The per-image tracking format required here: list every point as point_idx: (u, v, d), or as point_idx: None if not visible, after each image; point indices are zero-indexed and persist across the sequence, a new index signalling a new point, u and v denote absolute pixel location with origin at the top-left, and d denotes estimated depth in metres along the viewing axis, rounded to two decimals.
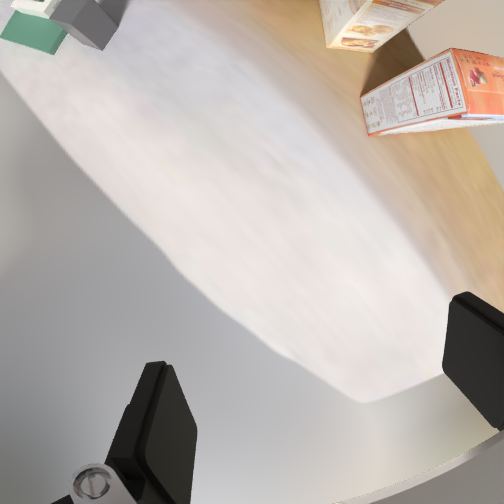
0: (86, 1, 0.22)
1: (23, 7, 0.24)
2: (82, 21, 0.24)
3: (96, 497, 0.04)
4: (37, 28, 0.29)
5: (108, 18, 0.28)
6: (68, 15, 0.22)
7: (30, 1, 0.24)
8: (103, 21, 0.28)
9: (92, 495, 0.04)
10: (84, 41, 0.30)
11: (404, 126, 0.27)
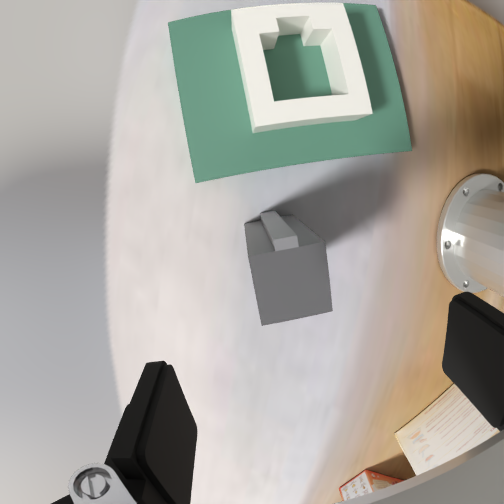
0: (318, 312, 0.17)
1: (242, 53, 0.18)
2: None
3: (96, 498, 0.04)
4: (222, 106, 0.22)
5: None
6: (275, 303, 0.17)
7: (261, 60, 0.18)
8: None
9: (92, 495, 0.04)
10: None
11: None
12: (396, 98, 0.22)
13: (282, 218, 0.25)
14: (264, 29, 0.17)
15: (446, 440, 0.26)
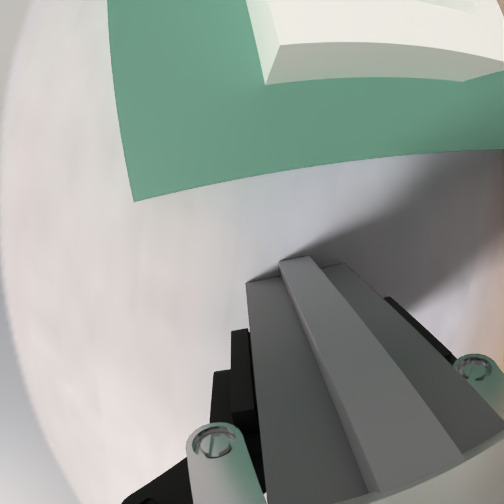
0: None
1: None
2: None
3: (212, 457, 0.05)
4: (195, 30, 0.08)
5: None
6: None
7: None
8: None
9: (210, 454, 0.05)
10: None
11: None
12: None
13: (327, 275, 0.11)
14: None
15: None
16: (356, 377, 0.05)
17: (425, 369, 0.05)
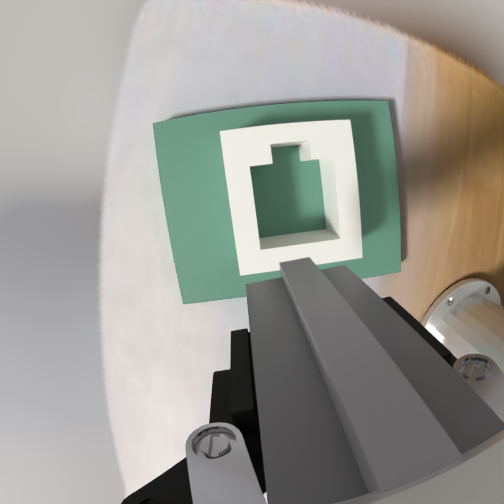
0: None
1: (230, 191, 0.19)
2: None
3: (211, 457, 0.05)
4: (209, 231, 0.23)
5: None
6: None
7: (250, 201, 0.19)
8: None
9: (209, 454, 0.05)
10: None
11: None
12: (393, 218, 0.23)
13: (328, 277, 0.11)
14: (256, 160, 0.19)
15: None
16: (357, 379, 0.05)
17: (425, 371, 0.05)
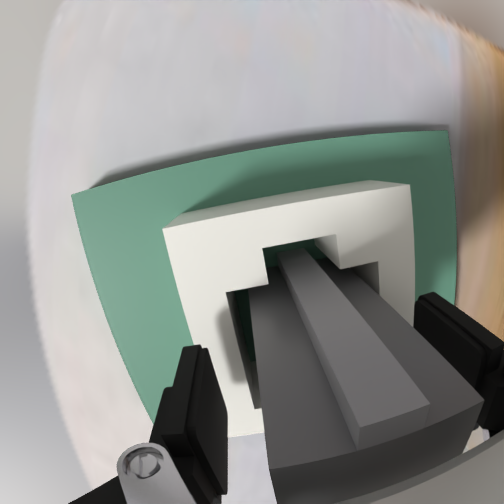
0: None
1: (195, 335, 0.11)
2: None
3: (144, 477, 0.05)
4: (178, 355, 0.15)
5: None
6: None
7: (232, 348, 0.11)
8: None
9: (140, 474, 0.05)
10: None
11: None
12: None
13: (320, 265, 0.13)
14: (236, 281, 0.10)
15: None
16: (339, 338, 0.06)
17: (399, 339, 0.07)
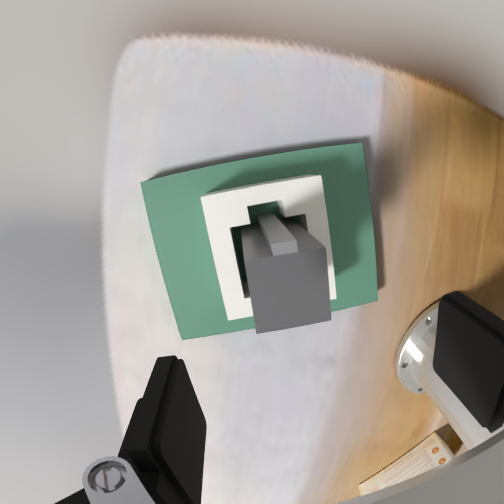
0: (316, 321, 0.16)
1: (214, 250, 0.22)
2: None
3: (110, 491, 0.04)
4: (200, 278, 0.26)
5: None
6: (272, 310, 0.16)
7: (232, 258, 0.22)
8: None
9: (106, 488, 0.04)
10: None
11: None
12: (368, 253, 0.26)
13: (280, 220, 0.24)
14: (235, 222, 0.21)
15: None
16: (273, 231, 0.17)
17: (302, 237, 0.18)
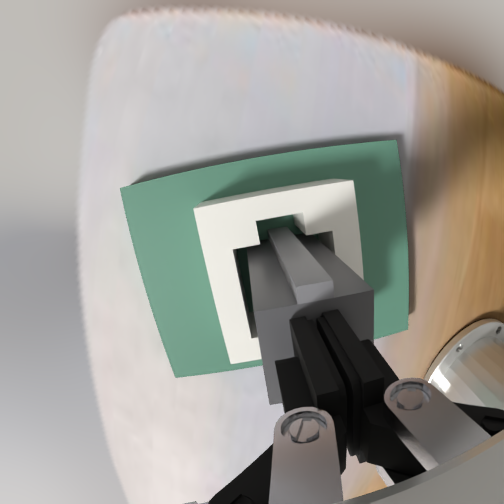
0: None
1: (211, 279, 0.16)
2: None
3: (298, 441, 0.06)
4: (195, 307, 0.20)
5: None
6: None
7: (236, 289, 0.17)
8: None
9: (297, 438, 0.05)
10: None
11: None
12: (401, 276, 0.21)
13: (297, 237, 0.19)
14: (239, 242, 0.16)
15: None
16: (294, 261, 0.12)
17: (334, 267, 0.13)
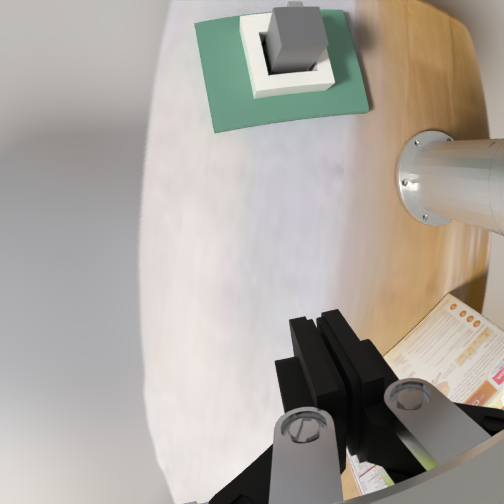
0: (319, 43, 0.21)
1: (247, 45, 0.27)
2: (292, 52, 0.23)
3: (298, 441, 0.06)
4: (233, 81, 0.31)
5: (309, 66, 0.28)
6: (290, 33, 0.21)
7: (260, 49, 0.27)
8: (302, 64, 0.27)
9: (297, 438, 0.05)
10: (267, 54, 0.28)
11: (349, 464, 0.35)
12: (356, 75, 0.31)
13: None
14: (262, 29, 0.26)
15: (425, 358, 0.35)
16: None
17: None
